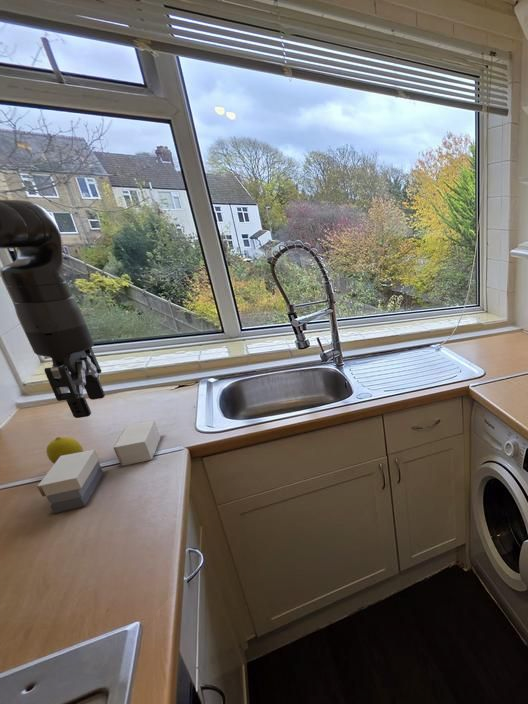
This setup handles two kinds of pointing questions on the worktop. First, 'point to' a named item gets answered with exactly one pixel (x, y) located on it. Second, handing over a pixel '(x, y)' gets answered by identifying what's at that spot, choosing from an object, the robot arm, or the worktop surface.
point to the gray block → (76, 493)
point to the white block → (137, 443)
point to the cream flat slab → (68, 473)
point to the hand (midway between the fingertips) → (91, 407)
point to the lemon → (62, 448)
